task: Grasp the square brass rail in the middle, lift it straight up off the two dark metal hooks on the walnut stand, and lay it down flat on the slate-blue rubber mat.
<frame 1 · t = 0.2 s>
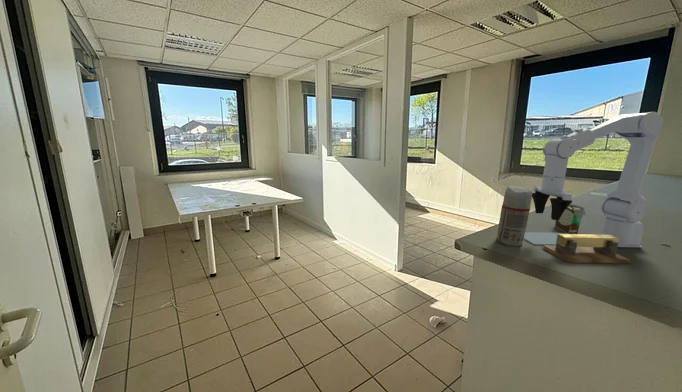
hand: (546, 216, 91), 10 cm above the worktop, tool pointing down, fingers open, 7 cm apart
hook stand: (583, 255, 84), on the worktop
spray can: (509, 243, 94), on the worktop
brass rail: (586, 240, 83), point 5 cm above the worktop, touching hook stand
food container: (570, 231, 107), on the worktop
rubber mat: (550, 239, 98), on the worktop
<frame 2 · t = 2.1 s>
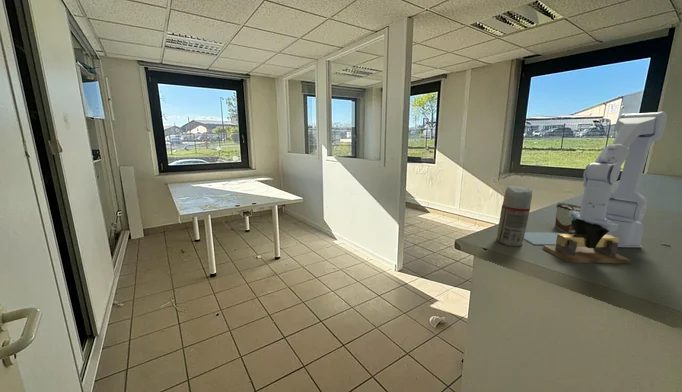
hand: (585, 245, 83), 3 cm above the worktop, tool pointing down, fingers closed on brass rail, 3 cm apart
brass rail: (586, 240, 83), point 5 cm above the worktop, touching gripper, hook stand
everything else where it was.
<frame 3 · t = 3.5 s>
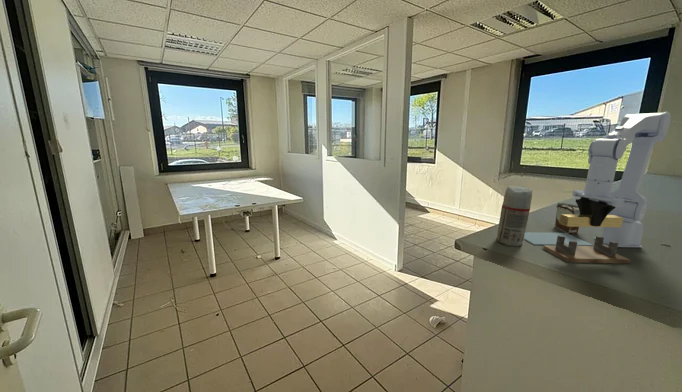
hand: (590, 224, 82), 10 cm above the worktop, tool pointing down, fingers closed on brass rail, 3 cm apart
brass rail: (590, 220, 82), point 11 cm above the worktop, touching gripper
everything else where it was.
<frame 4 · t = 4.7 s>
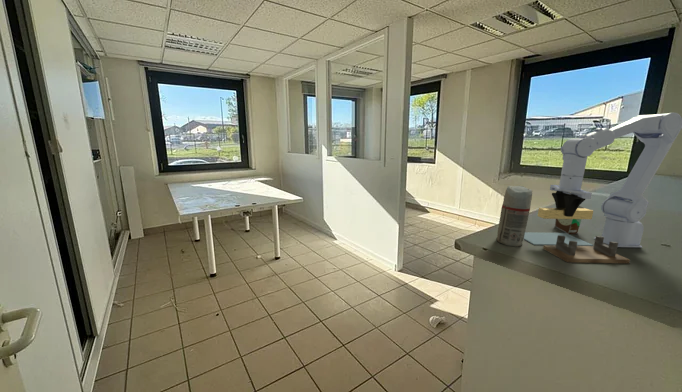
hand: (564, 214, 92), 10 cm above the worktop, tool pointing down, fingers closed on brass rail, 3 cm apart
brass rail: (564, 213, 91), point 11 cm above the worktop, touching gripper
everything else where it was.
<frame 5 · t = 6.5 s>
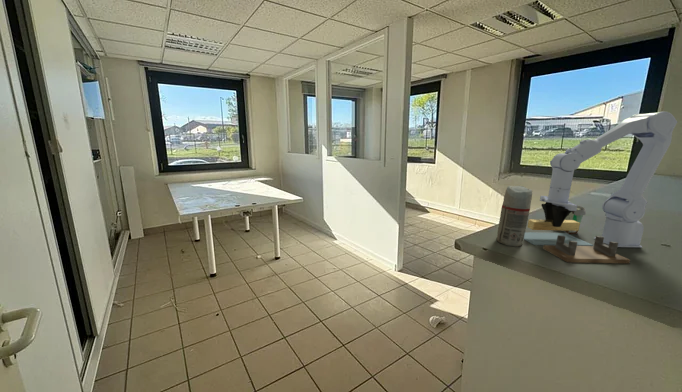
hand: (553, 225, 96), 5 cm above the worktop, tool pointing down, fingers closed on brass rail, 3 cm apart
brass rail: (553, 224, 96), point 5 cm above the worktop, touching gripper
everything else where it was.
when the fingers open (2 cm above the worktop, at t = 7.7 s): brass rail stays where it is, resting on rubber mat.
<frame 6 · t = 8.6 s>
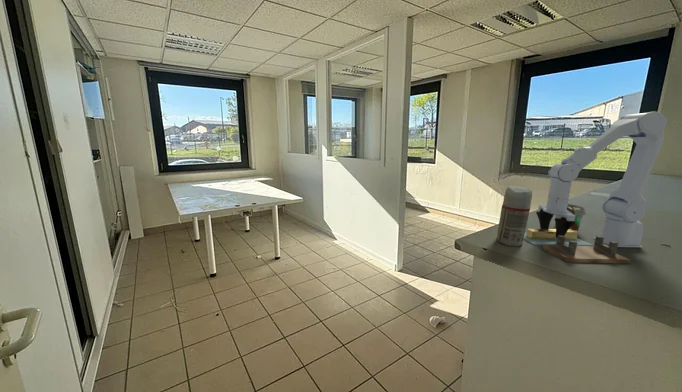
hand: (551, 234, 97), 2 cm above the worktop, tool pointing down, fingers open, 7 cm apart
brass rail: (551, 234, 97), point 2 cm above the worktop, touching rubber mat
everything else where it was.
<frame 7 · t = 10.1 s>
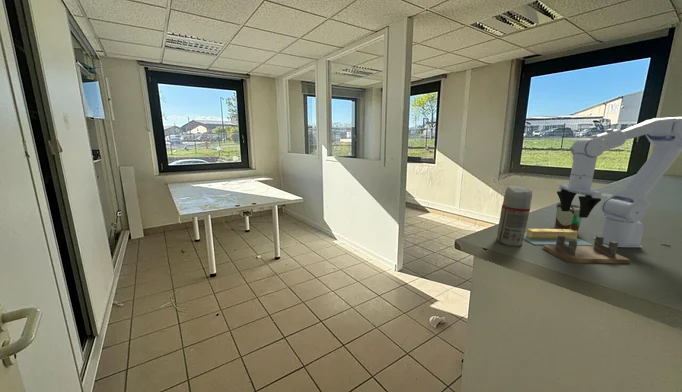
hand: (573, 214, 92), 10 cm above the worktop, tool pointing down, fingers open, 7 cm apart
nothing on the worktop moved.
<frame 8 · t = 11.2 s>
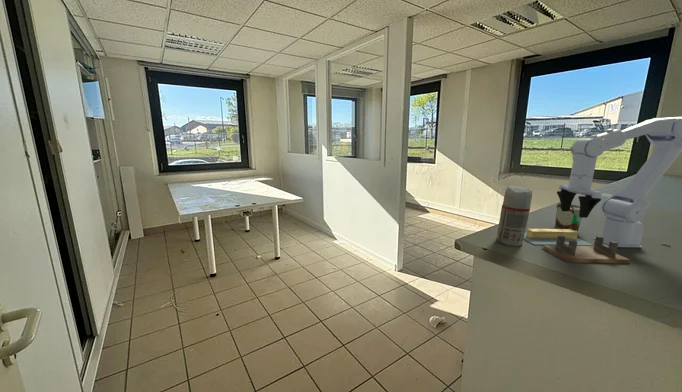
hand: (573, 214, 92), 10 cm above the worktop, tool pointing down, fingers open, 7 cm apart
nothing on the worktop moved.
at the end: brass rail inside the target area on the rubber mat (0.0 cm from its centre), point 1.9 cm above the rubber mat's base; brass rail touching rubber mat; the gripper is holding nothing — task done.
